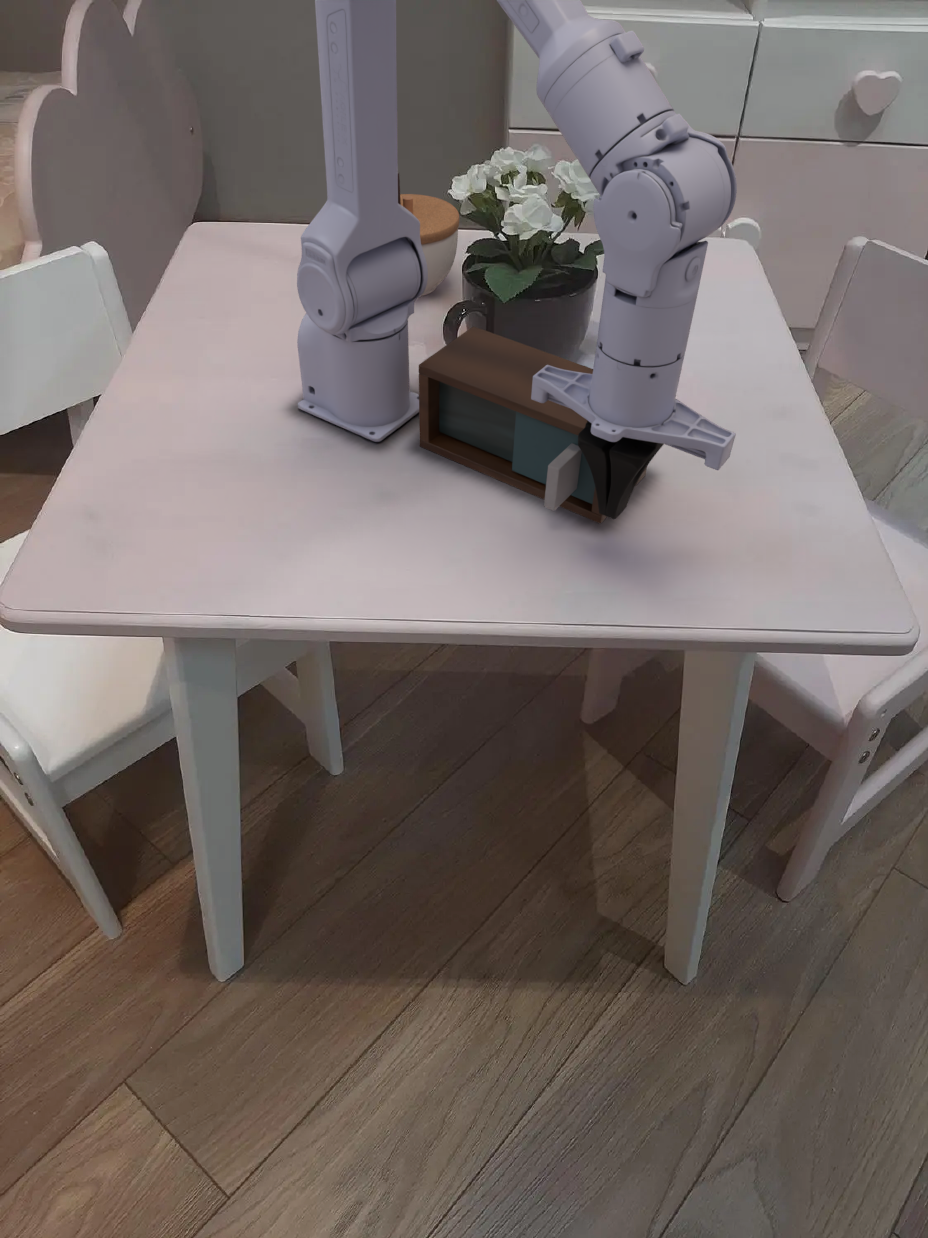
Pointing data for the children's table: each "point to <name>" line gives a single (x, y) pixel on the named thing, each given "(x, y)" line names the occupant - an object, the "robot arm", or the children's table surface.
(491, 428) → the cabinet
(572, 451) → the glass door
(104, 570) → the children's table surface
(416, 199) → the white lidded jar
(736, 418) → the children's table surface
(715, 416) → the children's table surface
